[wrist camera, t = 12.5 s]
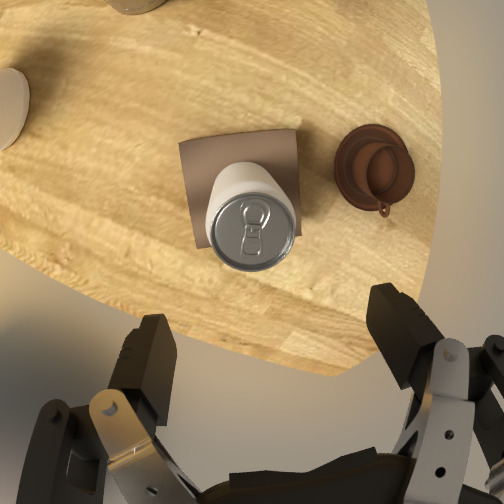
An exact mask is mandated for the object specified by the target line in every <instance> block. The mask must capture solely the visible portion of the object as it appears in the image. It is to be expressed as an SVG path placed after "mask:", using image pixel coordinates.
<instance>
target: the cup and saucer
mask: <svg viewBox="0 0 504 504" xmlns="http://www.w3.org/2000/svg"><path fill="white" fill-rule="evenodd" d="M334 175H335V180H336V183H337V186H338V188H339V190H340V192H341V194H342V195H343V197H344V198H345V199H346V200H347V201H348V202H349V203H350V204H351V205H353V206H354V207H356V208H358V209H361V210H365V211H378V210H379V212H380V214H381V215H382V216H383V217H388V215H389V213H390V205H392V204H393V203H396V202H399V201H401V200H402V199H403V198H404V197H406V195H407V194H408V193H409V192H410V190H411V188H412V186H413V182H414V177H415V169H414V164H413V161H412V159H411V157H410V155H409V154H408V150H407V148H406V146H405V144H404V142H403V141H402V139H401V138H400V137H399V136H398V135H397V134H396V133H395V132H394V131H393V130H391V129H389V128H388V127H385V126H382V125H378V124H368V125H363V126H360V127H358V128H356V129H354V130H353V131H351V132H350V133H349V134H348V135H347V136H346V137H345V138H344V139H343V140H342V142H341V143H340V145H339V147H338V149H337V152H336V155H335V160H334ZM385 208H386V212H383V210H382V209H385Z"/></svg>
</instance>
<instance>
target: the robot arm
mask: <svg viewBox="0 0 504 504" xmlns="http://www.w3.org/2000/svg"><path fill="white" fill-rule="evenodd" d="M105 1H106V2H107V3H108V4H109V5H110V6H112V7H113V8H114V9H115V10H116V11H118V12H119V13H122V14H127V15H136V14H141V13H145V12H147V11H150V10H152V9H154V8H156V7H158V6H159V5H161V4H162V3H164V2H165V1H166V0H105ZM366 324H367V328H368V330H369V332H370V334H371V336H372V337H373V339H374V341H375V343H376V345H377V346H378V348H379V350H380V352H381V353H382V355H383V357H384V359H385V361H386V363H387V364H388V366H389V368H390V370H391V372H392V374H393V376H394V377H395V379H396V381H397V383H398V385H399V387H400V389H401V390H403V389H406V388H408V387H412V389H413V393H412V395H411V399H410V403H409V407H408V411H407V414H406V418H405V421H404V425H403V428H402V431H401V434H400V437H399V439H398V441H397V443H396V445H395V446H394V449H393V451H392V453H391V454H390V453H378V454H377V452H376V449H375V447H371V448H368V449H365V450H362V451H358V452H355V453H351V454H348V455H344V456H341V457H339V458H337V459H335V460H333V461H331V462H329V463H327V464H325V465H323V466H320V467H318V468H316V469H314V470H312V471H309V472H305V473H295V472H278V471H267V470H265V471H256V472H243V473H230V474H229V481H225V482H222V483H220V484H217V485H215V486H213V487H211V488H209V489H207V490H206V491H204V492H201V491H200V489H199V488H198V487H197V486H196V485H195V484H194V483H193V482H192V481H191V480H190V479H189V478H188V476H186V474H185V473H184V472H183V471H182V470H181V468H180V467H179V466H178V465H177V463H176V462H175V461H174V459H173V458H172V457H171V456H170V454H169V453H168V452H167V450H166V449H165V447H164V446H163V445H162V443H161V442H160V440H159V439H158V438H157V436H156V435H155V432H156V426H167V419H168V412H169V404H170V397H171V391H172V384H173V377H174V371H175V365H176V359H177V348H176V343H175V341H174V338H173V336H172V333H171V330H170V327H169V325H168V322H167V319H166V317H165V315H164V314H151V315H144V317H143V319H142V322H141V324H140V327H139V329H138V328H137V329H133V330H132V331H131V332H130V334H129V335H128V336H127V337H126V338H125V341H124V343H123V346H122V350H121V351H120V354H119V358H118V360H117V363H116V366H115V368H114V371H113V374H112V377H111V380H110V383H109V386H108V388H107V390H104V391H101V392H100V393H98V394H97V395H95V396H94V397H93V399H92V400H91V402H90V405H85V406H80V407H74V408H70V407H69V406H68V405H67V404H66V403H65V402H64V401H62V400H59V399H54V400H51V401H49V402H48V403H46V404H45V405H44V406H43V407H42V409H41V410H40V413H39V416H38V419H37V422H36V424H35V428H34V430H33V434H32V437H31V440H30V444H29V447H28V451H27V454H26V458H25V462H24V467H23V470H22V474H21V479H20V484H19V489H18V495H17V501H16V504H103V494H104V484H105V475H106V467H107V460H108V458H110V460H111V462H110V463H108V468H109V471H110V473H111V475H112V477H113V478H114V480H115V482H116V484H117V486H118V487H119V489H120V491H121V493H122V494H123V496H124V498H125V499H126V501H127V502H128V504H504V412H503V410H502V409H501V407H500V405H499V403H498V401H497V400H496V398H495V396H494V394H493V393H492V391H491V387H492V386H493V385H494V383H495V385H496V386H497V388H498V390H499V391H500V393H501V395H502V396H503V398H504V337H502V336H500V335H491V336H489V337H487V339H486V340H485V342H484V344H483V346H482V347H473V348H466V346H465V345H464V344H463V343H461V342H460V341H458V340H456V339H452V338H446V339H445V337H444V336H443V335H442V334H441V332H440V331H439V330H438V329H437V327H436V326H435V325H434V324H433V322H432V321H431V320H430V319H429V317H428V316H427V315H425V312H424V311H423V310H422V309H421V308H420V307H419V306H418V304H417V303H416V302H415V301H414V299H413V298H411V297H409V296H408V295H406V294H405V293H403V292H402V293H399V292H398V290H397V289H396V288H395V287H394V286H393V284H392V283H384V284H379V285H374V286H372V287H371V290H370V296H369V302H368V308H367V314H366ZM473 430H474V433H475V434H476V437H477V439H478V441H479V444H480V446H481V448H482V451H483V453H484V456H485V458H486V461H487V463H488V466H489V468H490V473H489V478H488V479H487V480H486V482H485V488H486V489H487V490H489V494H488V493H485V492H482V491H480V490H477V489H475V488H472V487H469V486H467V485H465V484H463V480H464V476H465V471H466V467H467V462H468V457H469V451H470V446H471V439H472V431H473ZM70 452H72V453H71V458H70V463H69V468H68V473H67V475H66V472H67V466H68V461H69V457H70Z"/></svg>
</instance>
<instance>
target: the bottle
mask: <svg viewBox="0 0 504 504" xmlns="http://www.w3.org/2000/svg"><path fill="white" fill-rule="evenodd" d="M29 99H30V92H29V86H28V81H27V80H26V78H25V76H24V74H23V73H21V72H20V71H18V70H16V69H13V68H0V151H1V150H3V149H5V148H7V147H9V146H10V145H11V144H12V143H13V142H14V141H15V140H16V138H17V137H18V136H19V134H20V132H21V130H22V128H23V126H24V124H25V120H26V117H27V113H28V110H29Z"/></svg>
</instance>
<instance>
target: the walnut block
mask: <svg viewBox="0 0 504 504" xmlns="http://www.w3.org/2000/svg"><path fill="white" fill-rule="evenodd" d="M178 144H179V151H180V157H181V164H182V170H183V176H184V182H185V188H186V194H187V199H188V205H189V211H190V216H191V221H192V227H193V232H194V237H195V242H196V247H197V249H200V248H208V247H212V246H211V244H210V242H209V240H208V237H207V233H206V214H207V209H208V205H209V201H210V197H211V193H212V189H213V185H214V182H215V180H216V178H217V176H218V175H219V174H220V172H221V171H222V170H223V169H225V168H226V167H227V166H229V165H231V164H234V163H238V162H253V163H256V164H258V165H260V166H261V167H263V168H264V169H265V170H266V171H267V172H268V173H269V174H270V175H271V176H272V178H273V179H274V180H275V181H276V183H277V184H278V185H279V186H280V188H281V189H282V190H283V192H284V193H285V194H286V196H287V197H288V199H289V200H290V202H291V204H292V206H293V209H294V212H295V217H296V229H295V237H296V236H302V233H301V208H300V188H299V172H298V157H297V143H296V131H295V129H272V130H260V131H249V132H240V133H232V134H224V135H216V136H210V137H203V138H197V139H191V140H186V141H183V142H180V143H178Z"/></svg>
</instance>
